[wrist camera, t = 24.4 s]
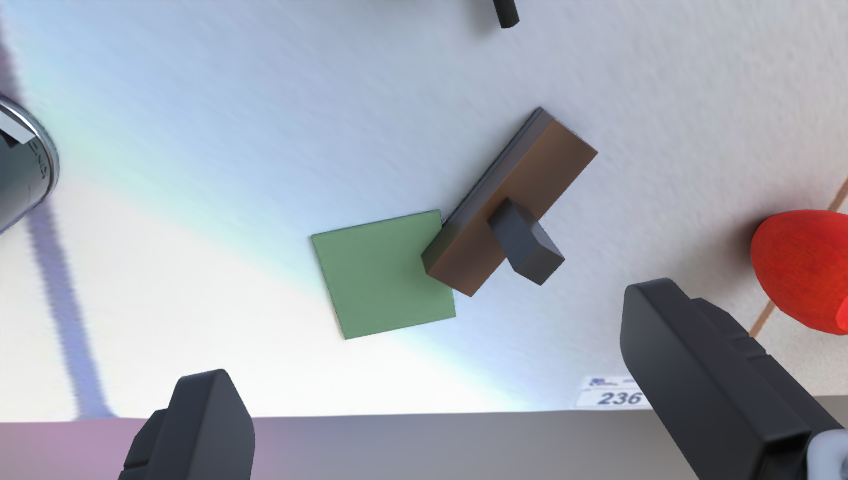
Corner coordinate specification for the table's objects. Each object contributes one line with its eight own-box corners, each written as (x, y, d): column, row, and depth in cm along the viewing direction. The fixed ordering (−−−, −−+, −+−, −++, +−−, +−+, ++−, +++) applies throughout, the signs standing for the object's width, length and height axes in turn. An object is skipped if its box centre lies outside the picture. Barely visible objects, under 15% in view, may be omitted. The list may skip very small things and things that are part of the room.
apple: (799, 269, 52) (909, 352, 42) (711, 278, 51) (802, 366, 41) (839, 182, 47) (977, 254, 37) (741, 190, 46) (855, 266, 36)
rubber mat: (345, 337, 49) (345, 340, 49) (311, 234, 42) (311, 237, 42) (455, 314, 49) (456, 316, 49) (438, 209, 43) (439, 211, 42)
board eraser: (420, 255, 44) (442, 331, 36) (539, 105, 39) (598, 154, 30) (463, 278, 46) (493, 354, 38) (582, 138, 41) (648, 192, 33)
